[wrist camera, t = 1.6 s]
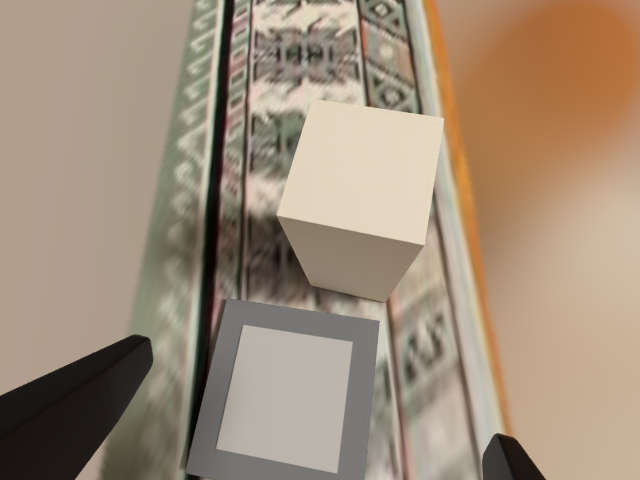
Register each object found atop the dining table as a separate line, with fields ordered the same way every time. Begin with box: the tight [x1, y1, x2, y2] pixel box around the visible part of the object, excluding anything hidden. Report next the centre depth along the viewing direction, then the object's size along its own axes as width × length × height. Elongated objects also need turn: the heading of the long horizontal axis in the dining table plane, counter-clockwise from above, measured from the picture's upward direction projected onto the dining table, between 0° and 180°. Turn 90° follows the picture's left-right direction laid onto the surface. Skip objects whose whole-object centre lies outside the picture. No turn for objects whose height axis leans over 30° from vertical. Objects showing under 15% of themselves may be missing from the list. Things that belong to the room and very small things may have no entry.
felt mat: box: [185, 298, 380, 480], centre depth 21 cm, size 10×10×1 cm
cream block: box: [276, 99, 444, 303], centre depth 18 cm, size 5×5×12 cm
